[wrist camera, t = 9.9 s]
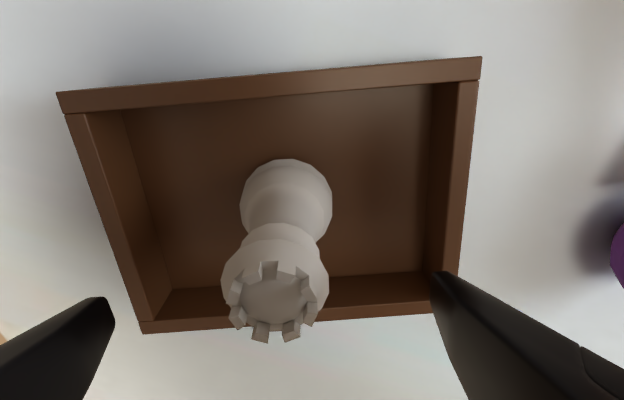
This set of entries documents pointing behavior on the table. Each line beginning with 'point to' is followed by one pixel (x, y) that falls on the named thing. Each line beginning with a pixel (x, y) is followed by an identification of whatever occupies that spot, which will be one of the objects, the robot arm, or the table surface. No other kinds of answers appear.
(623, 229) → the kendama
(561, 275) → the table surface
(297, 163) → the rook chess piece
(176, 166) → the tray
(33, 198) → the table surface
